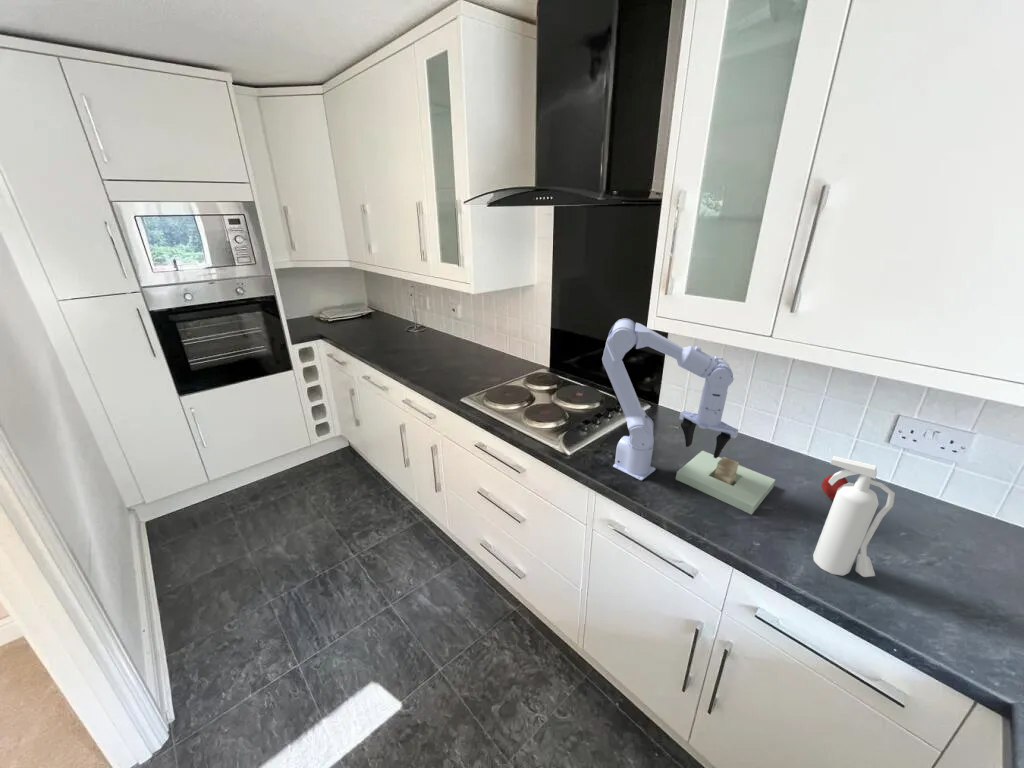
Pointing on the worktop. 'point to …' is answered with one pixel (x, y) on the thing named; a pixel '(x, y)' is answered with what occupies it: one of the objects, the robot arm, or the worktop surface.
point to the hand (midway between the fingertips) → (702, 450)
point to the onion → (832, 486)
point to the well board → (740, 495)
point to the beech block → (726, 470)
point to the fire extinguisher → (851, 520)
